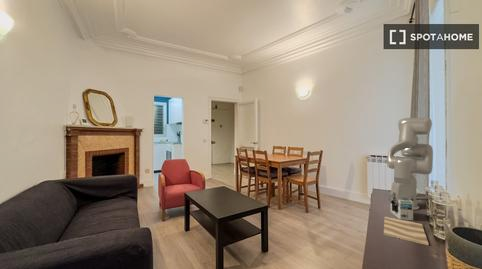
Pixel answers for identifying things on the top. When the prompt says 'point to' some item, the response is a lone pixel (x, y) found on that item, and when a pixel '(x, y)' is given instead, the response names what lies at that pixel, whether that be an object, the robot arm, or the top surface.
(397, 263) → the top surface
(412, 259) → the top surface
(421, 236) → the oak board
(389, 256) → the top surface
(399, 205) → the light bulb box
